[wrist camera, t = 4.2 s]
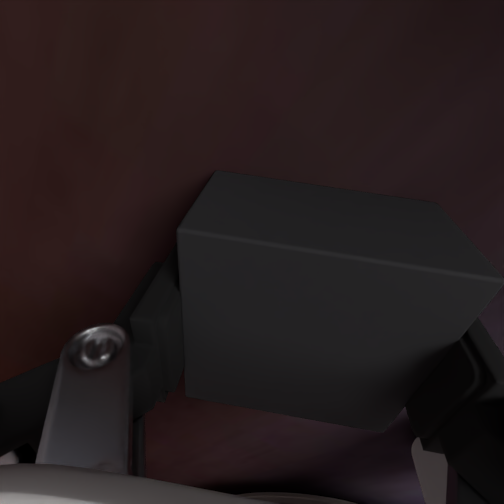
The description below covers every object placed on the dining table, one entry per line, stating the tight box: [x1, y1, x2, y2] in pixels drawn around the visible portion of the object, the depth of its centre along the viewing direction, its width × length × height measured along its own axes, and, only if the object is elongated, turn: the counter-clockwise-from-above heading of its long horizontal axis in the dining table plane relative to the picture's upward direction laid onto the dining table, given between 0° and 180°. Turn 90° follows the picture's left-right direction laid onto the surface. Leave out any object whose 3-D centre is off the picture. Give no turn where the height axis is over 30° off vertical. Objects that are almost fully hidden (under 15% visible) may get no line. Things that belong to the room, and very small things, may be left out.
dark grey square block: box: [176, 170, 504, 432], centre depth 9 cm, size 6×6×4 cm
